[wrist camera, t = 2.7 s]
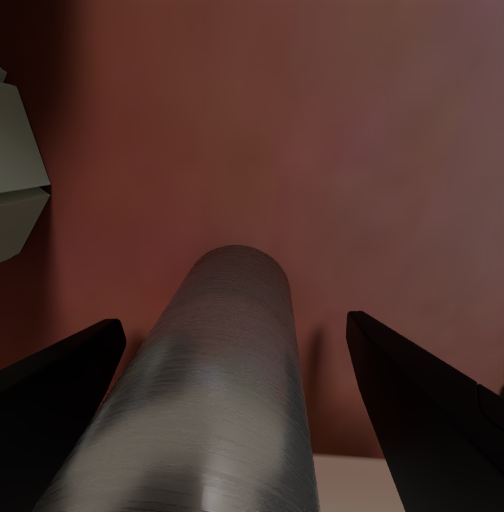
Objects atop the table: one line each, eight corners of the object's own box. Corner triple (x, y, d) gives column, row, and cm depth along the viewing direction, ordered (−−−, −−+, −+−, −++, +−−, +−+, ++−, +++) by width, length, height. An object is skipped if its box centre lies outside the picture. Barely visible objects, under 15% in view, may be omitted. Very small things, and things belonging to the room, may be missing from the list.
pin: (288, 241, 9) (423, 968, 1) (291, 335, 11) (359, 948, 3) (177, 248, 10) (-361, 827, 1) (195, 338, 11) (-23, 883, 3)
